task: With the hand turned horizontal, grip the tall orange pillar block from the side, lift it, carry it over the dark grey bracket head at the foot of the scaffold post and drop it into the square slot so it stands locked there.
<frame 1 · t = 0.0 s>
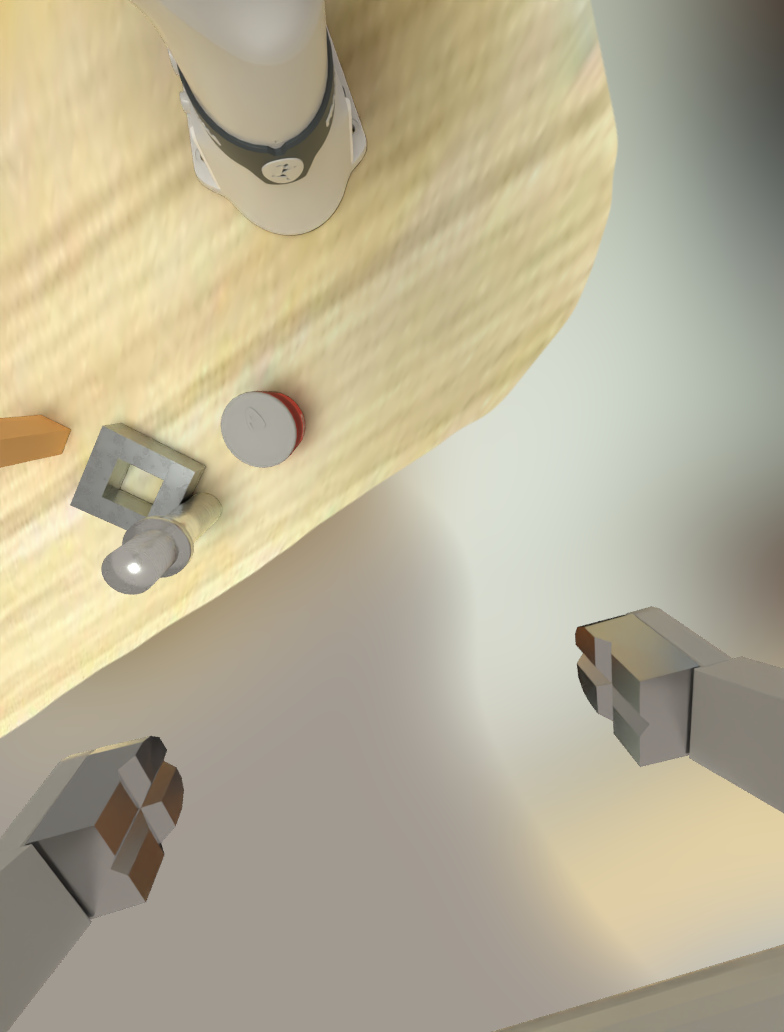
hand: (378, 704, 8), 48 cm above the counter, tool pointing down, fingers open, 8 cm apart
bracket head: (148, 481, 52), on the counter
tall orange pillar block: (51, 434, 49), on the counter
canned food: (276, 422, 52), on the counter
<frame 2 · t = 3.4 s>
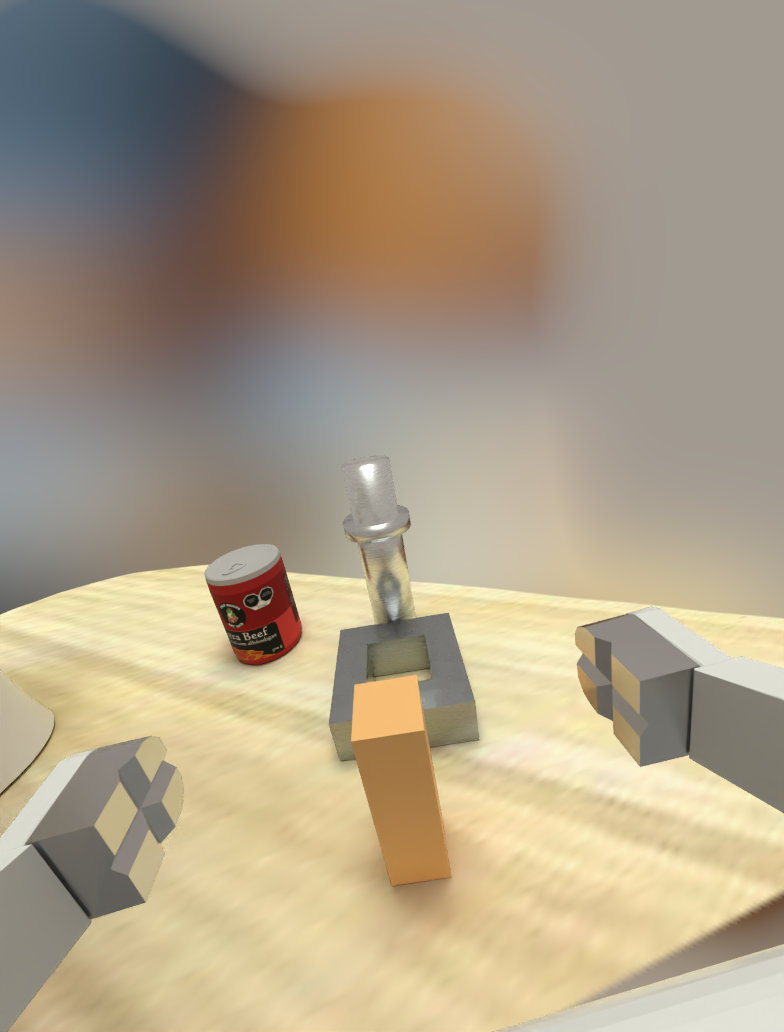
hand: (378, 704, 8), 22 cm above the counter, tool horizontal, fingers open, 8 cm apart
bracket head: (404, 694, 36), on the counter
tall orange pillar block: (418, 847, 24), on the counter
canned food: (270, 643, 46), on the counter
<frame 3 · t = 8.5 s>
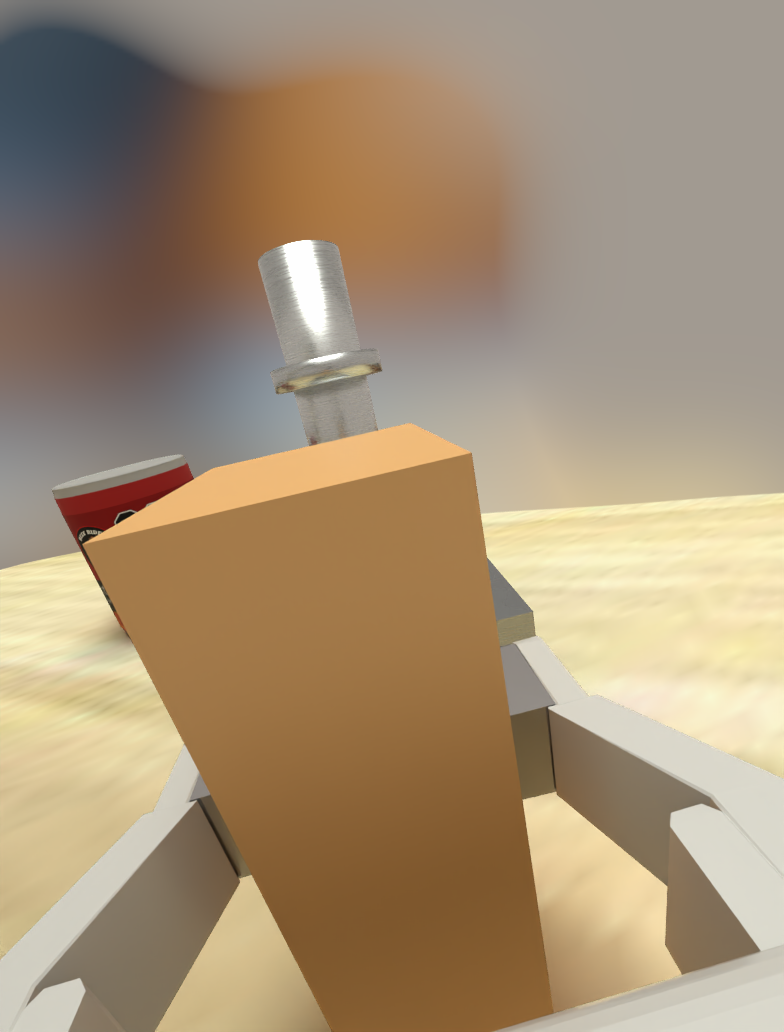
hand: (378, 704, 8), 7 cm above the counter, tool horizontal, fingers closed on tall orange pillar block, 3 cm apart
bracket head: (390, 645, 20), on the counter
tall orange pillar block: (449, 969, 9), on the counter, touching gripper
canned food: (184, 609, 30), on the counter
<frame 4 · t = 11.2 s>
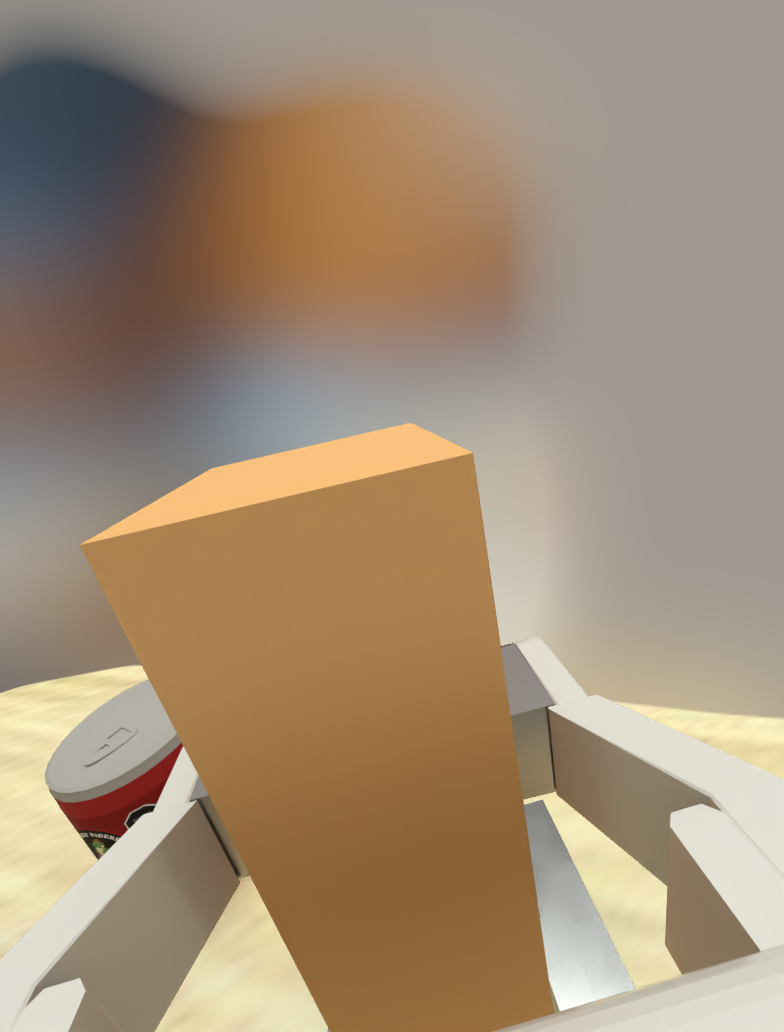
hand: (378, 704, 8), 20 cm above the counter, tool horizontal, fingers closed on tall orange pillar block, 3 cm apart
tall orange pillar block: (449, 971, 9), point 13 cm above the counter, touching gripper
canned food: (205, 851, 25), on the counter
when the fingers open (9 cm above the counter, at t = 14.0 s): tall orange pillar block drops 2 cm, resting in bracket head.
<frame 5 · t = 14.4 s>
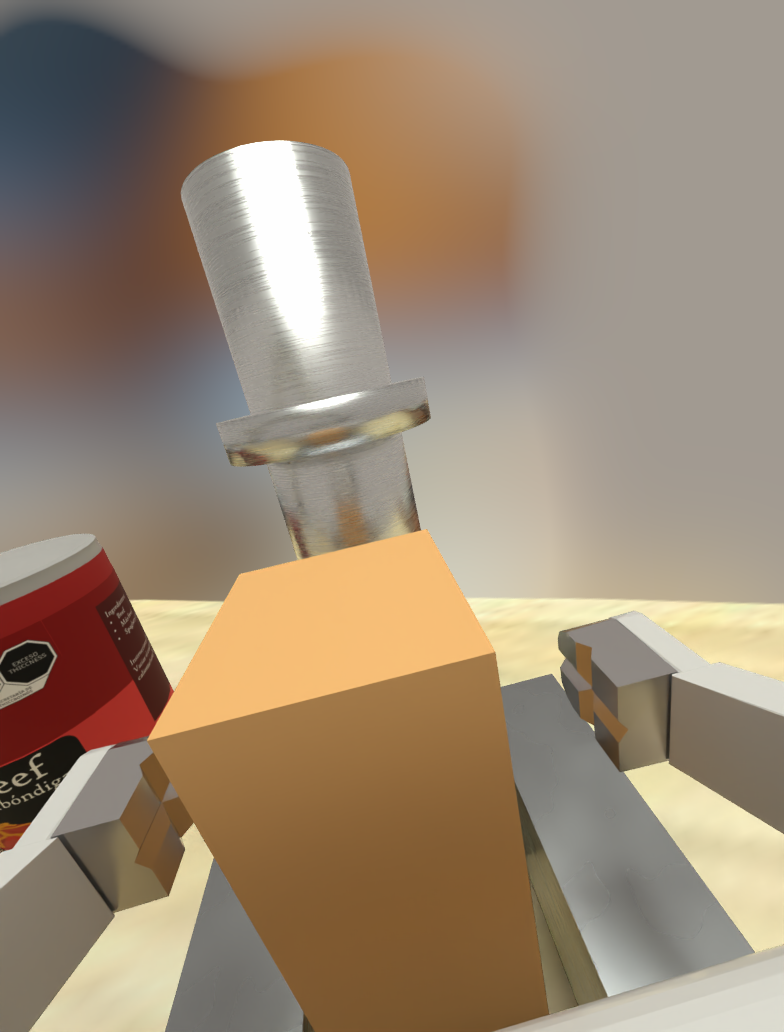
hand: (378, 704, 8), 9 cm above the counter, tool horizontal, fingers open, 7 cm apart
bracket head: (462, 1012, 10), on the counter
tall orange pillar block: (458, 1017, 10), resting in bracket head
canned food: (104, 771, 19), on the counter
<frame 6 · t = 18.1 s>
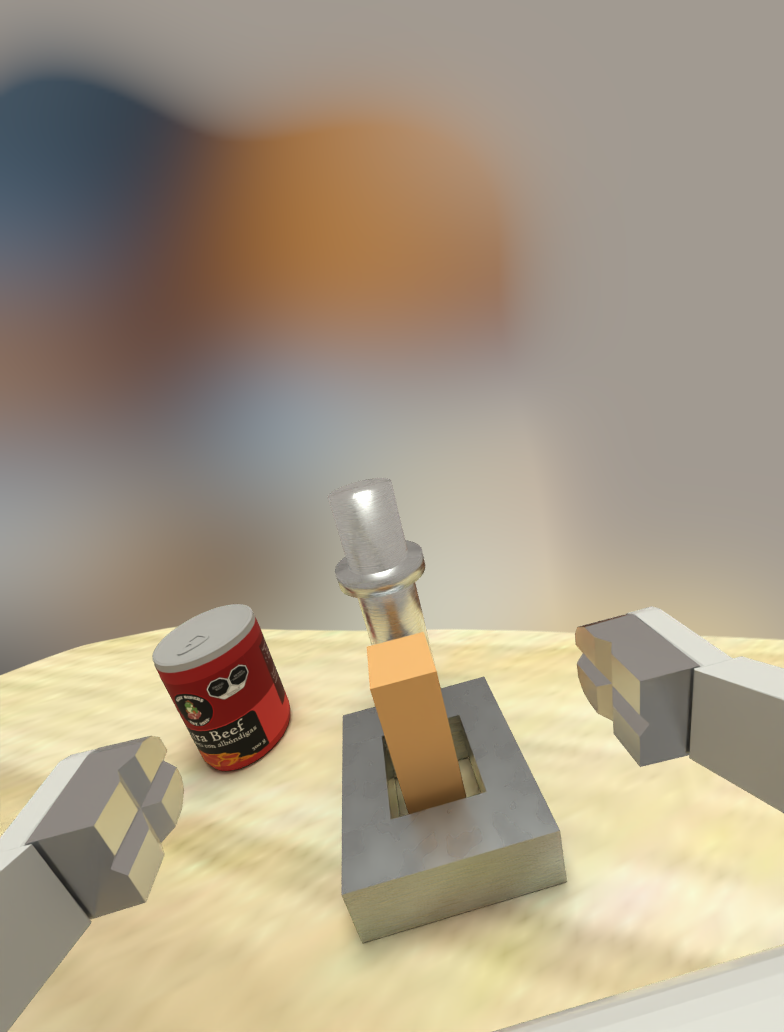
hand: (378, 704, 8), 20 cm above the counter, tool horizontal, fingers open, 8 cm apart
bracket head: (440, 805, 25), on the counter
tall orange pillar block: (439, 807, 25), resting in bracket head
canned food: (251, 734, 35), on the counter
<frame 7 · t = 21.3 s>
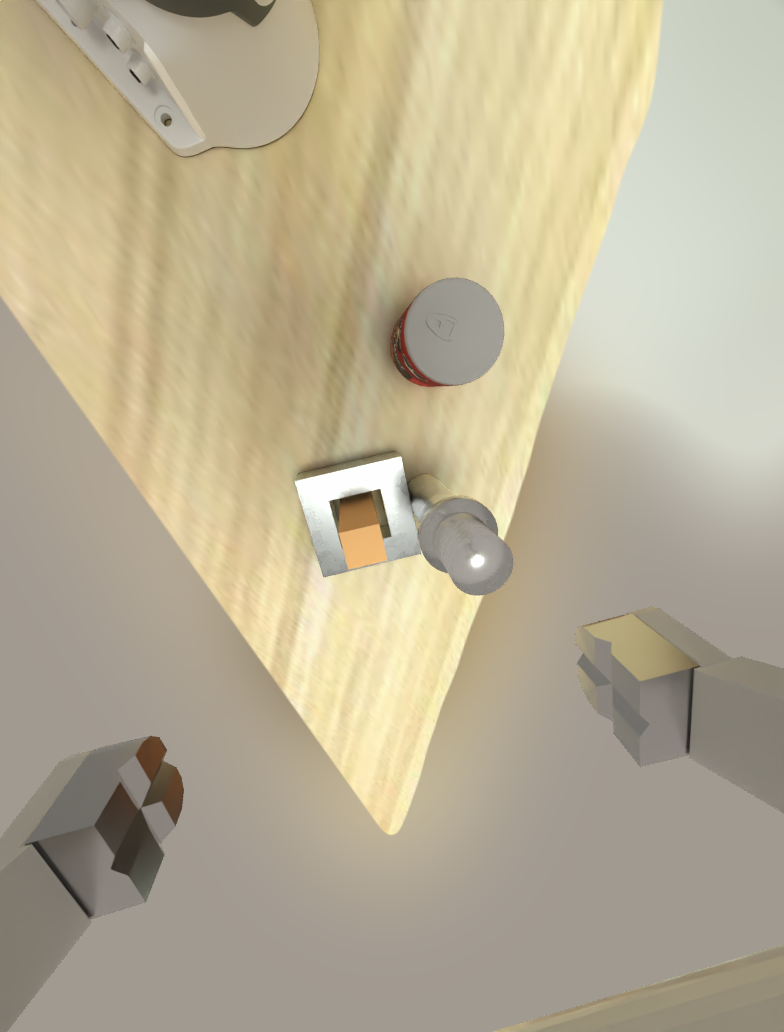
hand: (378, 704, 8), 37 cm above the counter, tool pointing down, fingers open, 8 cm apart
bracket head: (359, 508, 45), on the counter
tall orange pillar block: (358, 507, 45), resting in bracket head
canned food: (427, 348, 41), on the counter
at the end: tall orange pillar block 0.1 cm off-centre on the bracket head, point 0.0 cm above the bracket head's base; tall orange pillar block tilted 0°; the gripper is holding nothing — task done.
